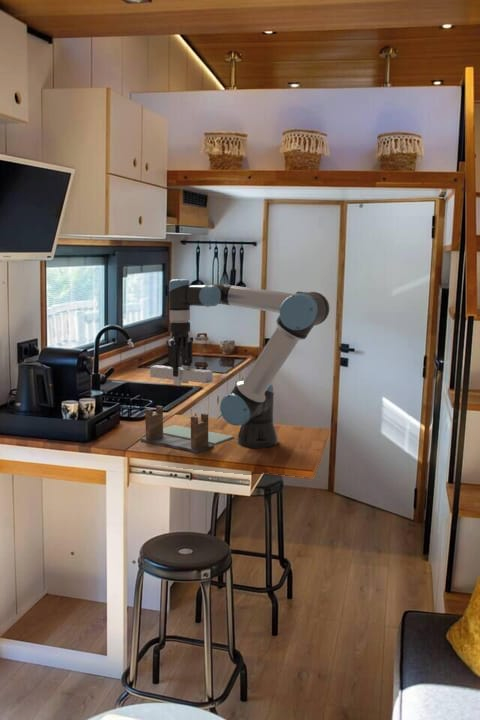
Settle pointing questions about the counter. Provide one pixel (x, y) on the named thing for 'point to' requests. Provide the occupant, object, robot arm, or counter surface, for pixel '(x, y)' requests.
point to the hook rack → (194, 445)
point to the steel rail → (182, 374)
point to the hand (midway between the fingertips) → (181, 383)
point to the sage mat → (186, 433)
